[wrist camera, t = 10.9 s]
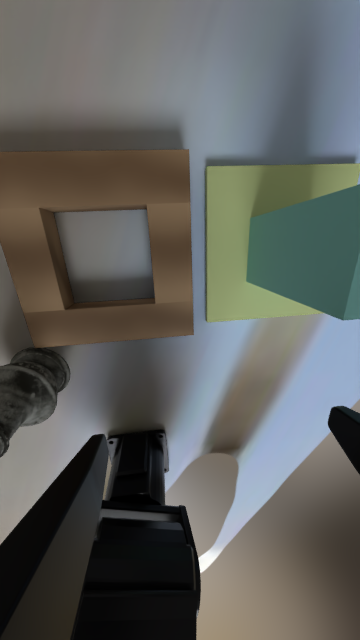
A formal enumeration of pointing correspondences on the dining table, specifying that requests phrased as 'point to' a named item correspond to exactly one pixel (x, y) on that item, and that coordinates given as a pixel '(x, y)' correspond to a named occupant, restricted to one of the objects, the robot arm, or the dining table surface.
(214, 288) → the olive mat
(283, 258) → the teal peg
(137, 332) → the frame
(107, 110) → the dining table surface
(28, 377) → the dark grey upright piece
